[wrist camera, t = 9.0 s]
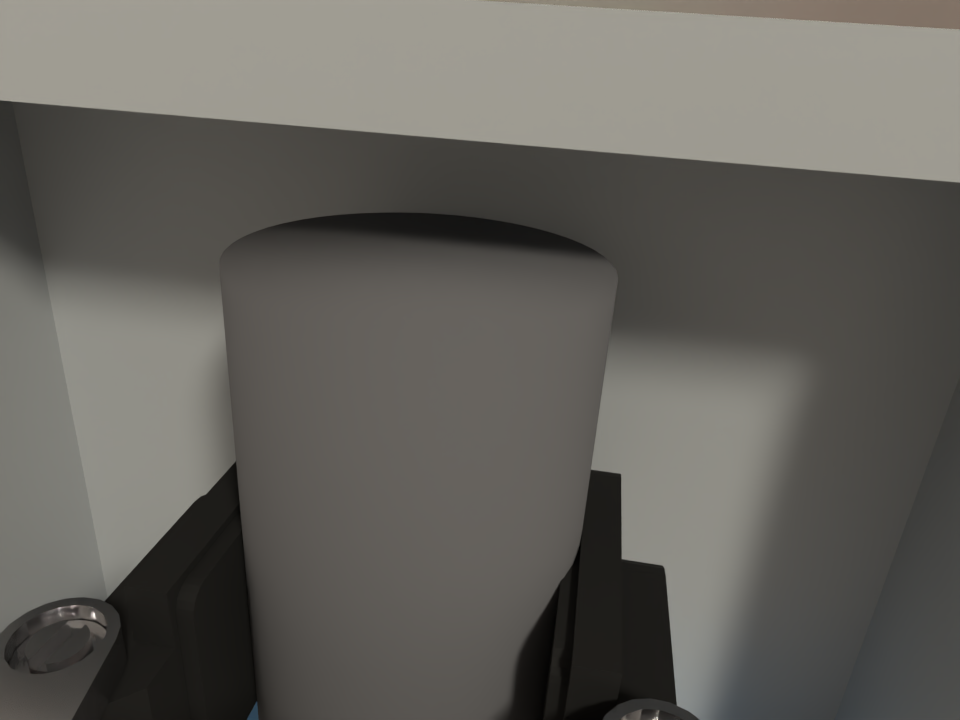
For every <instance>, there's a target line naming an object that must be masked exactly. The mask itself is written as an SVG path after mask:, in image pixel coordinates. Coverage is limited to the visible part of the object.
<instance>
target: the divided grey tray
mask: <svg viewBox="0 0 960 720" xmlns="http://www.w3.org/2000/svg"><path fill="white" fill-rule="evenodd" d="M386 212H403V213H431V214H446V215H458V216H467V217H476V218H484V219H491V220H497V221H503V222H509V223H514V224H519V225H524V226H528V227H532V228H537V229H540V230H544V231H548V232H551V233H555V234H558V235H561V236H564V237H567V238H569V239H572V240H574V241H577V242H579V243H582V244H584V245H586V246H588V247H590V248H592V249H594V250H595V251H597V252H598V253H600V254H601V255H603V256H604V257H605V258H606V259H607V260H609V261H610V262H611V263H612V265H613V266H614V268H615V269H616V271H617V275H618V283H617V290H616V297H615V304H614V311H613V318H612V325H611V332H610V339H609V346H608V353H607V360H606V367H605V374H604V381H603V388H602V395H601V402H600V409H599V416H598V423H597V430H596V437H595V444H594V451H593V458H592V465H591V470H598V471H605V472H612V473H619V474H621V516H622V559H624V560H631V561H637V562H643V563H650V564H656V565H662V566H663V567H664V568H665V574H666V585H667V596H668V608H669V620H670V631H671V643H672V654H673V666H674V678H675V689H676V701H677V706H679V707H681V708H683V709H685V710H687V711H689V712H690V713H692V714H693V715H694V716H696V717H697V718H698V719H700V720H960V30H958V29H941V28H925V27H908V26H892V25H875V24H859V23H842V22H826V21H809V20H792V19H776V18H759V17H743V16H726V15H710V14H693V13H677V12H660V11H644V10H627V9H611V8H594V7H578V6H561V5H545V4H528V3H512V2H495V1H479V0H0V633H1V632H2V631H3V630H4V629H5V628H6V627H7V626H8V625H9V624H10V623H12V622H13V621H15V620H16V619H17V618H19V617H20V616H22V615H23V614H25V613H26V612H28V611H31V610H33V609H35V608H37V607H39V606H42V605H44V604H46V603H50V602H54V601H58V600H61V599H65V598H77V597H87V598H94V599H100V600H102V601H105V600H106V599H107V598H108V597H109V596H110V594H111V593H112V592H113V591H114V590H115V589H116V588H117V587H118V586H119V585H120V583H121V582H122V581H123V580H124V579H125V578H126V577H127V576H128V575H129V573H130V572H131V571H132V570H133V569H134V568H135V567H136V566H137V565H138V564H139V562H140V561H141V560H142V559H143V558H144V557H145V556H146V555H147V554H148V552H149V551H150V550H151V549H152V548H153V547H154V546H155V545H156V544H157V543H158V541H159V540H160V539H161V538H162V537H163V536H164V535H165V534H166V533H167V531H168V530H169V529H170V528H171V527H172V526H173V525H174V524H175V523H176V522H177V520H178V519H179V518H180V517H181V516H182V515H183V514H184V513H185V512H186V510H187V509H188V508H189V507H190V506H191V505H192V504H193V503H194V502H195V501H196V500H197V499H198V498H199V497H201V496H203V495H206V494H207V493H208V492H209V491H210V489H211V488H212V487H213V486H214V485H215V484H216V483H217V482H218V480H219V479H220V478H221V477H222V476H223V475H224V474H225V473H226V472H227V470H228V469H229V468H230V467H231V466H232V465H233V464H234V463H235V461H236V455H235V443H234V432H233V420H232V409H231V397H230V386H229V374H228V363H227V352H226V340H225V329H224V317H223V306H222V294H221V283H220V271H219V261H220V257H221V255H222V253H223V252H224V250H225V249H226V248H227V247H229V246H230V245H231V244H232V243H234V242H235V241H237V240H238V239H240V238H242V237H244V236H246V235H248V234H251V233H253V232H256V231H259V230H261V229H264V228H267V227H271V226H275V225H279V224H282V223H287V222H292V221H297V220H302V219H309V218H315V217H323V216H332V215H342V214H356V213H386ZM247 720H259V719H258V707H257V702H256V704H255V705H254V707H253V709H252V711H251V713H250V715H249V716H248V718H247Z"/></svg>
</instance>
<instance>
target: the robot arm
mask: <svg viewBox="0 0 960 720" xmlns="http://www.w3.org/2000/svg"><path fill="white" fill-rule="evenodd" d="M256 702H257V696H256V684H255V673H254V661H253V650H252V638H251V627H250V616H249V604H248V593H247V581H246V570H245V558H244V547H243V535H242V524H241V512H240V501H239V489H238V478H237V466H236V461H235V463H234V464H233V465H232V466H231V467H230V468H229V469H228V470H227V472H226V473H225V474H224V475H223V476H222V477H221V478H220V479H219V480H218V482H217V483H216V484H215V485H214V486H213V487H212V488H211V489H210V491H209V492H208V493H207V494H206V495H203V496H201V497H199V498H198V499H197V500H196V501H195V502H194V503H193V504H192V505H191V506H190V507H189V508H188V509H187V510H186V512H185V513H184V514H183V515H182V516H181V517H180V518H179V519H178V520H177V522H176V523H175V524H174V525H173V526H172V527H171V528H170V529H169V530H168V531H167V533H166V534H165V535H164V536H163V537H162V538H161V539H160V540H159V541H158V543H157V544H156V545H155V546H154V547H153V548H152V549H151V550H150V551H149V552H148V554H147V555H146V556H145V557H144V558H143V559H142V560H141V561H140V562H139V564H138V565H137V566H136V567H135V568H134V569H133V570H132V571H131V572H130V573H129V575H128V576H127V577H126V578H125V579H124V580H123V581H122V582H121V583H120V585H119V586H118V587H117V588H116V589H115V590H114V591H113V592H112V593H111V594H110V596H109V597H108V598H107V599H106V600H105V601H102V600H100V599H94V598H87V597H77V598H65V599H61V600H58V601H54V602H50V603H46V604H44V605H42V606H39V607H37V608H35V609H33V610H31V611H28V612H26V613H25V614H23V615H22V616H20V617H19V618H17V619H16V620H15V621H13V622H12V623H10V624H9V625H8V626H7V627H6V628H5V629H4V630H3V631H2V632H1V633H0V720H247V718H248V716H249V715H250V713H251V711H252V709H253V707H254V705H255V704H256ZM542 720H700V719H698V718H697V717H696V716H694V715H693V714H692V713H690V712H689V711H687V710H685V709H683V708H681V707H679V706H677V701H676V689H675V678H674V666H673V654H672V643H671V631H670V620H669V608H668V596H667V585H666V574H665V568H664V567H663V566H662V565H656V564H650V563H643V562H637V561H631V560H624V559H622V516H621V474H619V473H612V472H605V471H598V470H591V472H590V479H589V486H588V493H587V500H586V507H585V514H584V521H583V528H582V535H581V541H580V546H579V551H578V553H577V556H576V558H575V560H574V563H573V565H572V566H571V568H570V569H569V571H568V572H567V574H566V575H565V577H564V578H563V579H562V580H561V582H560V590H559V597H558V605H557V612H556V620H555V627H554V635H553V642H552V650H551V658H550V665H549V673H548V680H547V688H546V695H545V703H544V710H543V718H542Z"/></svg>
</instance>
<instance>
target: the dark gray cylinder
mask: <svg viewBox="0 0 960 720" xmlns="http://www.w3.org/2000/svg"><path fill="white" fill-rule="evenodd" d="M219 271H220V283H221V294H222V306H223V317H224V329H225V340H226V352H227V363H228V374H229V386H230V397H231V409H232V420H233V432H234V443H235V455H236V466H237V478H238V489H239V501H240V512H241V524H242V535H243V547H244V558H245V570H246V581H247V593H248V604H249V616H250V627H251V638H252V650H253V661H254V673H255V684H256V696H257V707H258V719H259V720H542V718H543V710H544V703H545V695H546V688H547V680H548V673H549V665H550V658H551V650H552V642H553V635H554V627H555V620H556V612H557V605H558V597H559V590H560V582H561V580H562V579H563V578H564V577H565V575H566V574H567V572H568V571H569V569H570V568H571V566H572V565H573V563H574V560H575V558H576V556H577V553H578V551H579V546H580V541H581V535H582V528H583V521H584V514H585V507H586V500H587V493H588V486H589V479H590V472H591V465H592V458H593V451H594V444H595V437H596V430H597V423H598V416H599V409H600V402H601V395H602V388H603V381H604V374H605V367H606V360H607V353H608V346H609V339H610V332H611V325H612V318H613V311H614V304H615V297H616V290H617V283H618V275H617V271H616V269H615V268H614V266H613V265H612V263H611V262H610V261H609V260H607V259H606V258H605V257H604V256H603V255H601V254H600V253H598V252H597V251H595V250H594V249H592V248H590V247H588V246H586V245H584V244H582V243H579V242H577V241H574V240H572V239H569V238H567V237H564V236H561V235H558V234H555V233H551V232H548V231H544V230H540V229H537V228H532V227H528V226H524V225H519V224H514V223H509V222H503V221H497V220H491V219H484V218H476V217H467V216H458V215H446V214H431V213H403V212H386V213H356V214H342V215H332V216H323V217H315V218H309V219H302V220H297V221H292V222H287V223H282V224H279V225H275V226H271V227H267V228H264V229H261V230H259V231H256V232H253V233H251V234H248V235H246V236H244V237H242V238H240V239H238V240H237V241H235V242H234V243H232V244H231V245H230V246H229V247H227V248H226V249H225V250H224V252H223V253H222V255H221V257H220V261H219Z"/></svg>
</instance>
